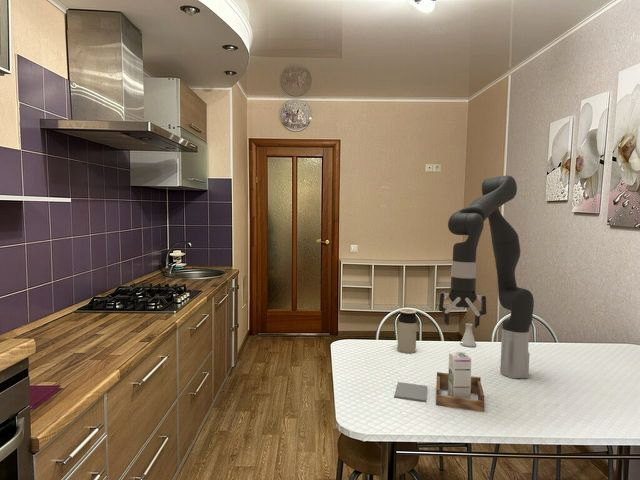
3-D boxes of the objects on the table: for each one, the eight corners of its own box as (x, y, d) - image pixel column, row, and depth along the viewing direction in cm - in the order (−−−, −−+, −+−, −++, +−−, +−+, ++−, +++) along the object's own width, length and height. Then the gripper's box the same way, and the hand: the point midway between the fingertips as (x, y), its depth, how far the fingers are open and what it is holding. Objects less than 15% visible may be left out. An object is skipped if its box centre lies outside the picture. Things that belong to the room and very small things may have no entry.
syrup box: (470, 403, 128) (472, 358, 127) (452, 402, 128) (453, 357, 127) (464, 395, 133) (466, 352, 133) (446, 395, 133) (448, 351, 133)
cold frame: (479, 393, 135) (480, 377, 135) (484, 411, 122) (484, 394, 122) (436, 387, 139) (436, 371, 139) (435, 404, 126) (436, 387, 126)
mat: (427, 387, 139) (427, 385, 139) (426, 402, 128) (426, 400, 128) (397, 383, 142) (397, 381, 142) (394, 397, 130) (394, 395, 130)
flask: (476, 344, 192) (477, 323, 192) (476, 348, 185) (477, 326, 185) (460, 342, 194) (460, 321, 194) (460, 346, 188) (460, 325, 187)
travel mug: (411, 354, 174) (413, 313, 173) (394, 351, 178) (395, 310, 177) (418, 350, 180) (419, 310, 180) (401, 346, 185) (402, 307, 184)
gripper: (486, 275, 130) (483, 325, 131) (440, 273, 135) (438, 321, 135) (488, 278, 123) (486, 331, 124) (440, 275, 127) (438, 326, 128)
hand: (461, 325), depth 130 cm, fingers open, 8 cm apart
